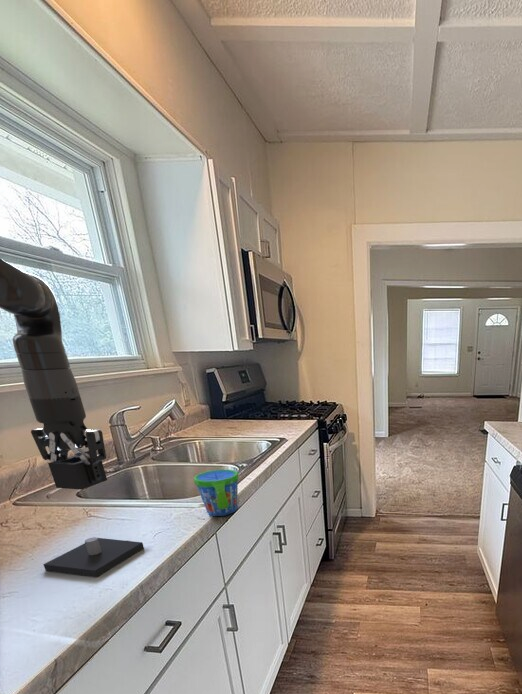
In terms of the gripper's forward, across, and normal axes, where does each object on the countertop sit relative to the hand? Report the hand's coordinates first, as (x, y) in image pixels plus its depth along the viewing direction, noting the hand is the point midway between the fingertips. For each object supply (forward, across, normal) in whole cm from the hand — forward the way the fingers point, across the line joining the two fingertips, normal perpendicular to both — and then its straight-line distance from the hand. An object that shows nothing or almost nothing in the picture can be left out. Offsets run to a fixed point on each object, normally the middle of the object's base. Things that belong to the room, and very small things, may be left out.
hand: (81, 481), depth 80 cm
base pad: (+16, +2, -4) cm, 16 cm away
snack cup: (+16, +14, +24) cm, 32 cm away
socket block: (+1, 0, 0) cm, 1 cm away
